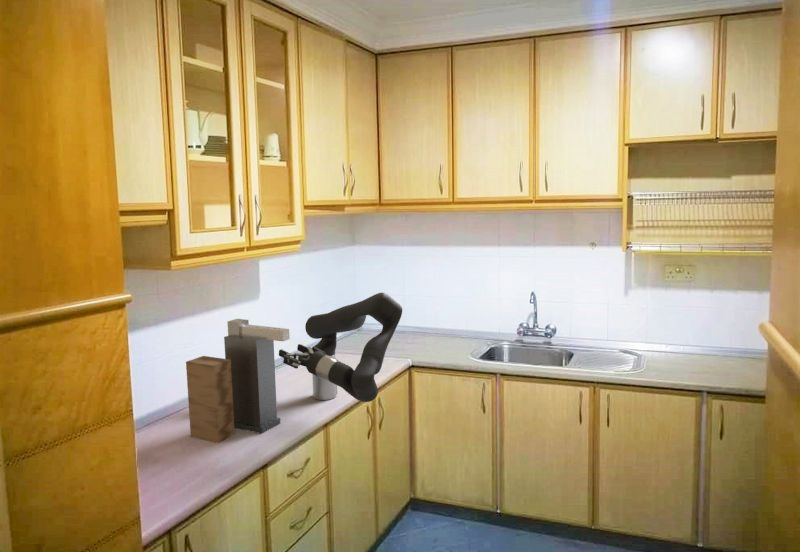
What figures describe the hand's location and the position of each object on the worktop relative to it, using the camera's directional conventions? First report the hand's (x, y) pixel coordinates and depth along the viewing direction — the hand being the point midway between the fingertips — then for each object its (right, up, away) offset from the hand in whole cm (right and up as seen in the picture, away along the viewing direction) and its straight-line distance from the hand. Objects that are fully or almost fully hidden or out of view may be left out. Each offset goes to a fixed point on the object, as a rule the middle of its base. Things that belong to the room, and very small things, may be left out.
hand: (289, 349), depth 209 cm
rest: (-26, -29, +3) cm, 39 cm away
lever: (-11, +4, +5) cm, 13 cm away
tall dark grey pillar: (-15, -28, +12) cm, 34 cm away
